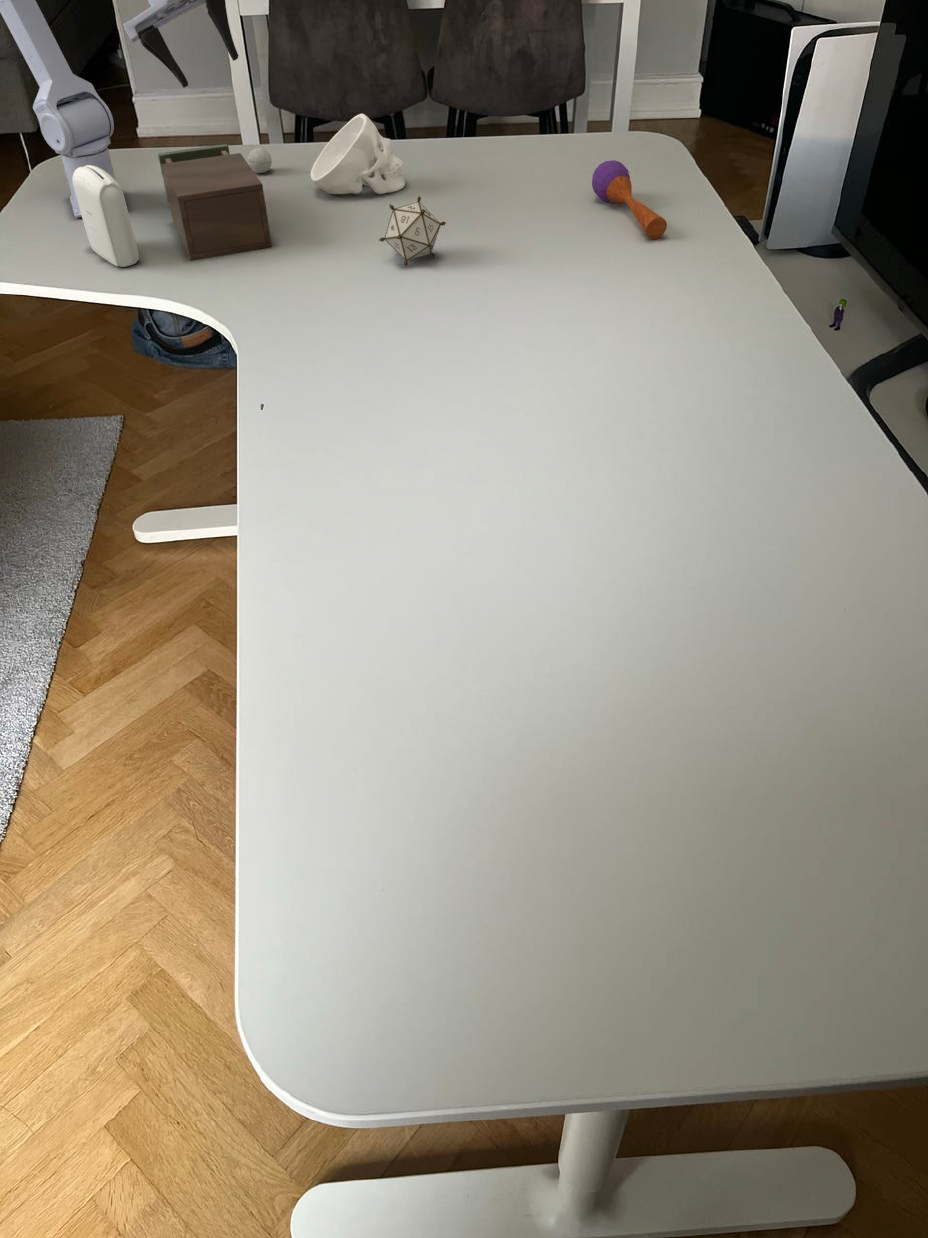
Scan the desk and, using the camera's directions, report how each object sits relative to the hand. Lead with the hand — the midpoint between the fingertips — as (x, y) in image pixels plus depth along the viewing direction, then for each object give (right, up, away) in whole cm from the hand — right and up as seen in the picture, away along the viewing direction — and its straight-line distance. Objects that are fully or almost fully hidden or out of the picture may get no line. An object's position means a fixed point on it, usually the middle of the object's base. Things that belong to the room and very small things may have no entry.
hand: (211, 71), depth 133 cm
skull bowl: (+16, -2, +32) cm, 36 cm away
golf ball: (-1, +4, +39) cm, 39 cm away
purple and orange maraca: (+59, -11, +22) cm, 64 cm away
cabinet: (-3, -15, +18) cm, 24 cm away
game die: (+27, -21, +11) cm, 36 cm away
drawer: (-7, -7, +25) cm, 27 cm away
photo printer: (-17, -20, +13) cm, 30 cm away
